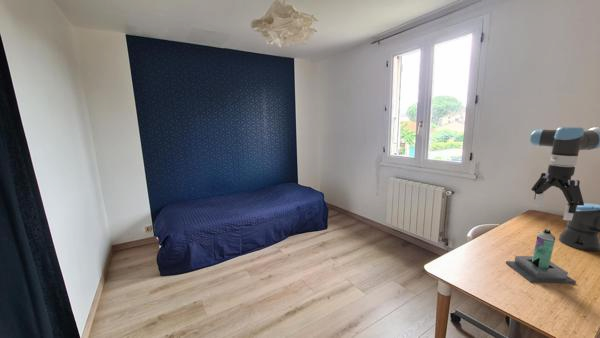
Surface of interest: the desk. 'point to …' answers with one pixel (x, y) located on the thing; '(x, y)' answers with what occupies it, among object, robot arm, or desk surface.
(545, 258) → the spray can
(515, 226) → the desk surface
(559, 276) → the collar
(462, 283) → the desk surface
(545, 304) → the desk surface
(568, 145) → the robot arm
